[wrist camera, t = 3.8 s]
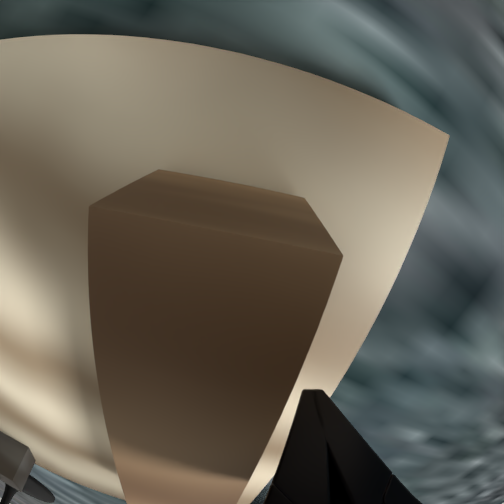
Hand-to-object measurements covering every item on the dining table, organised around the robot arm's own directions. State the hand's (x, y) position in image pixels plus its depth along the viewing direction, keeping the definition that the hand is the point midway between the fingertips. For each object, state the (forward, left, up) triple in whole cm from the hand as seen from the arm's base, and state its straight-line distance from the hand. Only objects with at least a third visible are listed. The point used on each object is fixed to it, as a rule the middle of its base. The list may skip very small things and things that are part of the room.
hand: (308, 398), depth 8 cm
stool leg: (-4, +3, -2) cm, 5 cm away
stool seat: (-4, +10, -4) cm, 12 cm away
